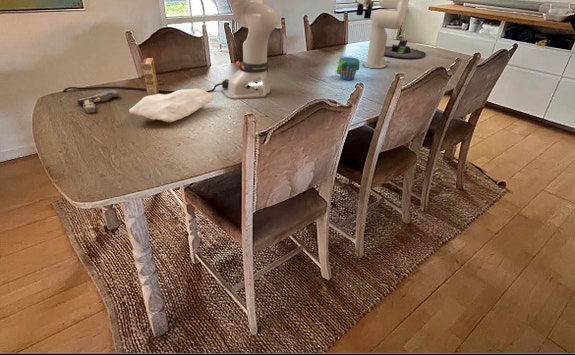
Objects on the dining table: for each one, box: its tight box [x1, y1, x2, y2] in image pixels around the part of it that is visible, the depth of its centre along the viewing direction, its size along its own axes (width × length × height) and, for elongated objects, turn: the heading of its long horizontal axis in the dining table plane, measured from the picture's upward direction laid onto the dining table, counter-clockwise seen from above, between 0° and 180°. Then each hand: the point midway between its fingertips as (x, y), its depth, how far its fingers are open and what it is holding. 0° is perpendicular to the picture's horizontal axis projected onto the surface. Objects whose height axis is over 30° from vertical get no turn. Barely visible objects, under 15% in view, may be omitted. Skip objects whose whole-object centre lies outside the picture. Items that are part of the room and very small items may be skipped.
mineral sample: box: [384, 38, 427, 59], centre depth 250 cm, size 35×35×9 cm
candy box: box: [141, 57, 160, 96], centre depth 163 cm, size 9×4×15 cm, turn 13°
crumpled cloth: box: [129, 88, 214, 123], centre depth 147 cm, size 24×35×9 cm
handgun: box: [76, 89, 120, 114], centre depth 155 cm, size 3×18×15 cm
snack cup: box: [336, 56, 361, 81], centre depth 195 cm, size 16×10×10 cm
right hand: (363, 16), depth 180 cm, fingers open, 9 cm apart
